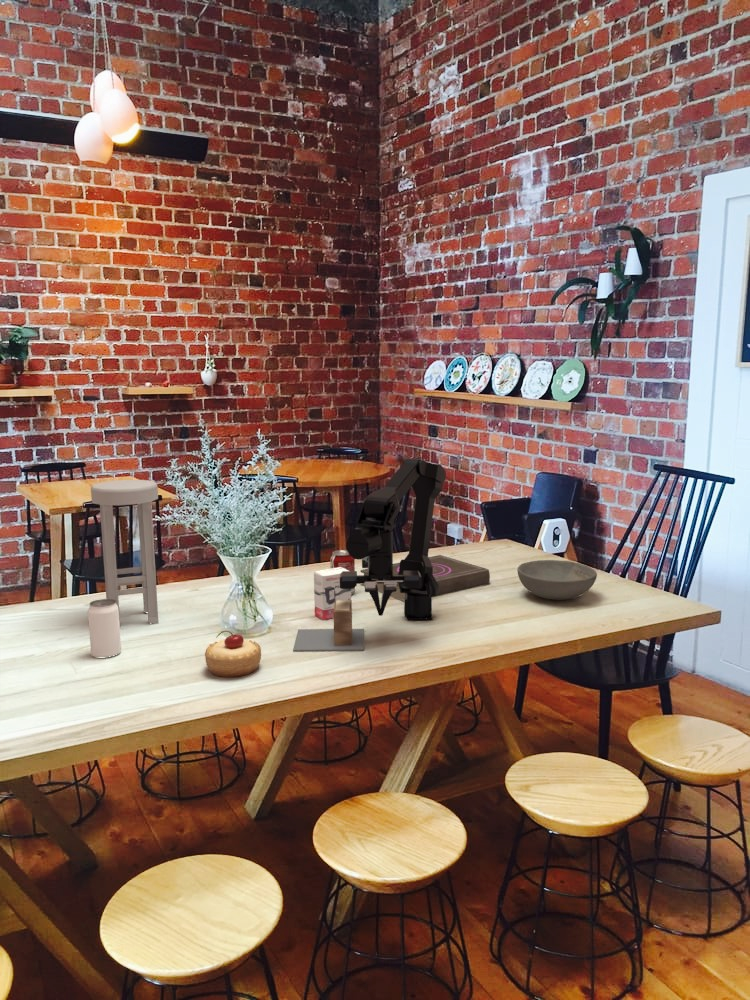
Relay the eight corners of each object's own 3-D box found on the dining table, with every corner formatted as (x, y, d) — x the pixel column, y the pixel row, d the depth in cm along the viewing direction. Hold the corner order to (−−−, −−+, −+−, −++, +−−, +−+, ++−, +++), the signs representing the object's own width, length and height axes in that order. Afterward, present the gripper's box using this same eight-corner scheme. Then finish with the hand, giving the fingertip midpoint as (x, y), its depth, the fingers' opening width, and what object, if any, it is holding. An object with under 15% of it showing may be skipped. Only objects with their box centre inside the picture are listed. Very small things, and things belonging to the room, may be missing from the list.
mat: (364, 630, 194) (364, 628, 193) (364, 650, 180) (364, 649, 180) (298, 630, 193) (298, 629, 193) (293, 651, 180) (293, 649, 179)
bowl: (569, 583, 233) (570, 557, 231) (611, 603, 213) (612, 574, 212) (504, 590, 226) (504, 563, 225) (541, 612, 207) (542, 582, 205)
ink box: (323, 620, 201) (322, 575, 199) (314, 615, 205) (313, 571, 203) (352, 614, 206) (351, 570, 204) (342, 609, 210) (341, 566, 208)
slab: (352, 632, 191) (351, 599, 190) (351, 645, 182) (351, 611, 181) (335, 632, 191) (334, 599, 189) (334, 645, 182) (333, 611, 181)
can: (97, 648, 182) (94, 598, 180) (125, 648, 182) (122, 598, 180) (86, 658, 176) (82, 606, 174) (115, 659, 176) (112, 606, 174)
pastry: (265, 678, 166) (265, 638, 164) (207, 684, 163) (206, 642, 161) (257, 656, 177) (256, 618, 175) (202, 661, 174) (202, 622, 172)
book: (440, 570, 251) (440, 554, 250) (489, 586, 233) (490, 569, 232) (360, 586, 233) (360, 569, 232) (407, 605, 215) (407, 587, 214)
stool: (168, 624, 199) (160, 486, 193) (102, 633, 193) (93, 490, 187) (159, 607, 213) (152, 477, 207) (98, 614, 207) (89, 481, 201)
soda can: (359, 594, 223) (359, 552, 221) (339, 598, 219) (338, 556, 217) (346, 589, 229) (346, 548, 227) (326, 593, 225) (325, 551, 223)
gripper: (418, 541, 191) (418, 604, 194) (340, 542, 191) (341, 605, 193) (421, 552, 180) (421, 619, 183) (339, 553, 180) (340, 619, 182)
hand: (380, 615), depth 186 cm, fingers closed
